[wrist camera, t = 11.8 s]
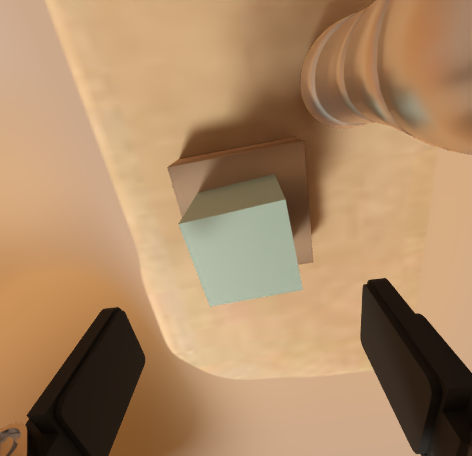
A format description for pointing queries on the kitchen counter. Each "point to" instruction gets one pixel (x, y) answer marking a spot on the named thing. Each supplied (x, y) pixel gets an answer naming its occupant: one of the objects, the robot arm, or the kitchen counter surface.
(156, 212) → the kitchen counter surface
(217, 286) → the sage cube
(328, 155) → the kitchen counter surface
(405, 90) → the plastic bottle
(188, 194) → the walnut block
